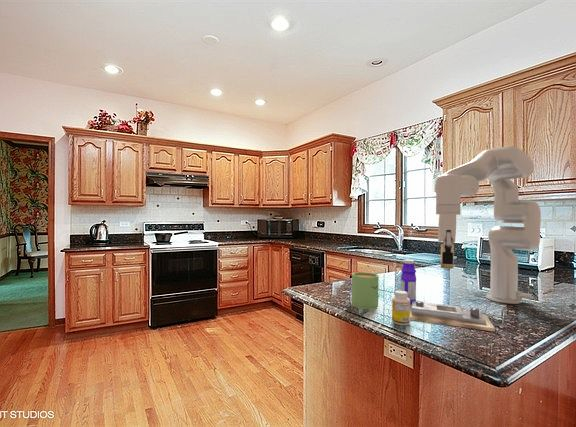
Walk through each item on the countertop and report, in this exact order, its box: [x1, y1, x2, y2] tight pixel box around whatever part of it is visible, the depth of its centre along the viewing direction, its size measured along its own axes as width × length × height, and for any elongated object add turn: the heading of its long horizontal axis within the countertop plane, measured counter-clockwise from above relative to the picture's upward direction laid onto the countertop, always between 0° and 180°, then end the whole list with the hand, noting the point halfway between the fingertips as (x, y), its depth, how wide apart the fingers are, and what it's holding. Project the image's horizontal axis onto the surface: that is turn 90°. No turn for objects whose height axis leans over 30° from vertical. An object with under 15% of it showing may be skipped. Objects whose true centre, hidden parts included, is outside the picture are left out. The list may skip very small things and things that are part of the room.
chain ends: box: [411, 300, 486, 325], centre depth 106 cm, size 22×9×3 cm, turn 66°
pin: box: [440, 243, 455, 270], centre depth 107 cm, size 4×4×8 cm
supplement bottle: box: [391, 290, 411, 326], centre depth 101 cm, size 6×6×10 cm
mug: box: [351, 271, 380, 310], centre depth 121 cm, size 13×10×12 cm
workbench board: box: [410, 305, 496, 333], centre depth 106 cm, size 26×14×1 cm, turn 66°
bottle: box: [400, 258, 417, 305], centre depth 125 cm, size 7×6×17 cm
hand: (447, 262), depth 107 cm, fingers closed on pin, 4 cm apart
